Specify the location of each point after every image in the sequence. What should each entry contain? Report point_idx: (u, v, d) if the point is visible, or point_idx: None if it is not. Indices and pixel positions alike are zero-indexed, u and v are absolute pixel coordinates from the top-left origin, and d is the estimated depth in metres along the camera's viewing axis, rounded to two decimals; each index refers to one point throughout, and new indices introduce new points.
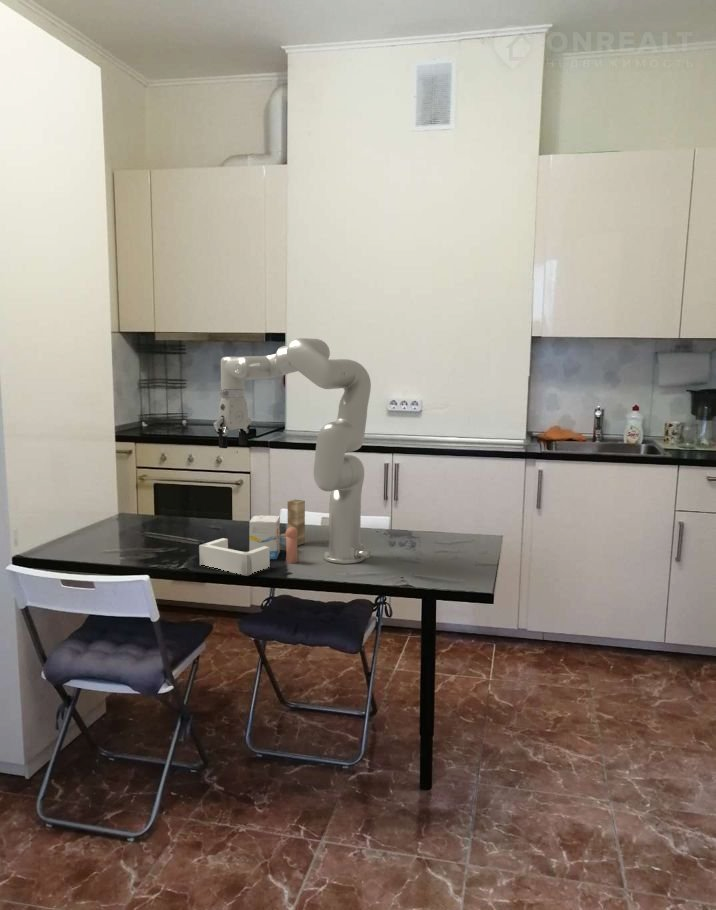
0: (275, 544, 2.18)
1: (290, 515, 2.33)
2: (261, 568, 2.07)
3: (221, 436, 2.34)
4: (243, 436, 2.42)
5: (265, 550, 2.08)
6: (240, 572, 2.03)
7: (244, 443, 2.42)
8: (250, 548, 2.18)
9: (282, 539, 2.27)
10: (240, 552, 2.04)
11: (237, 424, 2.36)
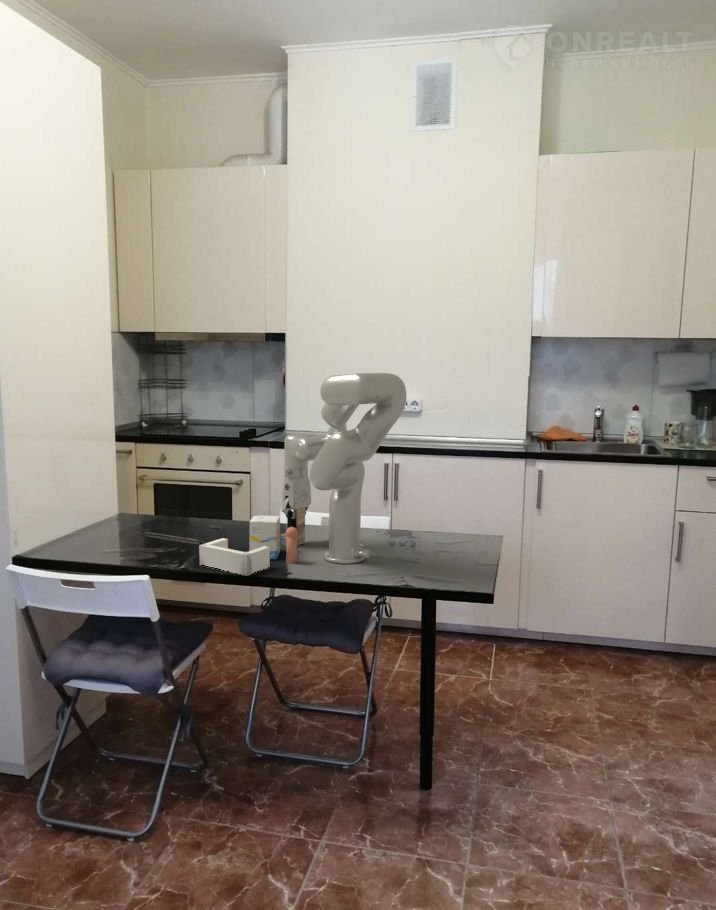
0: (275, 544, 2.18)
1: None
2: (261, 568, 2.07)
3: None
4: None
5: (265, 550, 2.08)
6: (240, 572, 2.03)
7: None
8: (250, 548, 2.18)
9: (282, 539, 2.27)
10: (240, 552, 2.04)
11: (301, 503, 2.32)
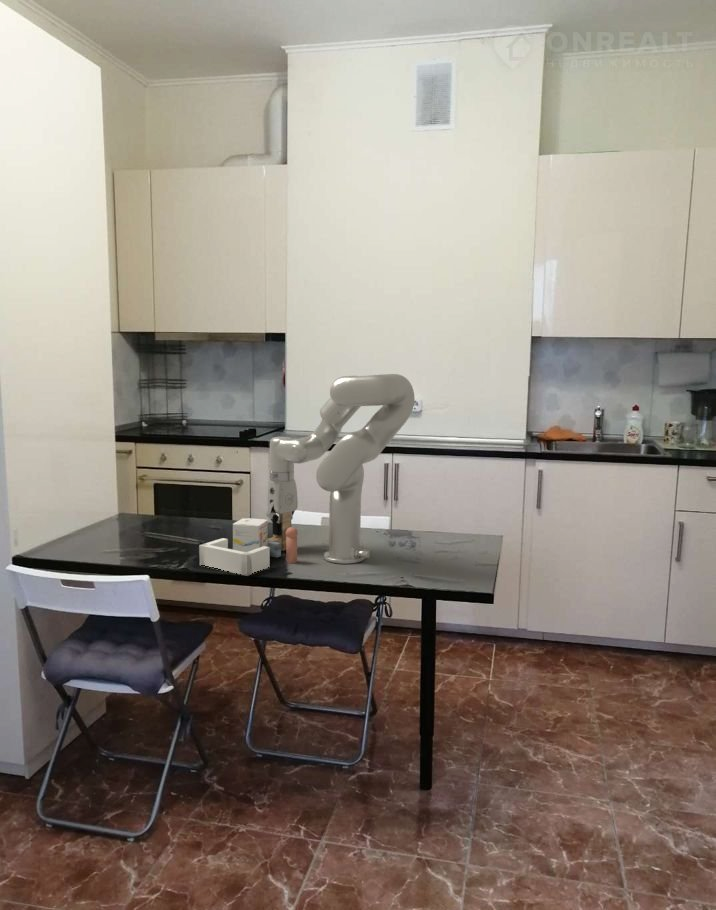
0: None
1: None
2: (261, 568, 2.07)
3: None
4: None
5: (265, 550, 2.08)
6: (240, 572, 2.03)
7: None
8: None
9: None
10: (240, 552, 2.04)
11: (287, 508, 2.25)
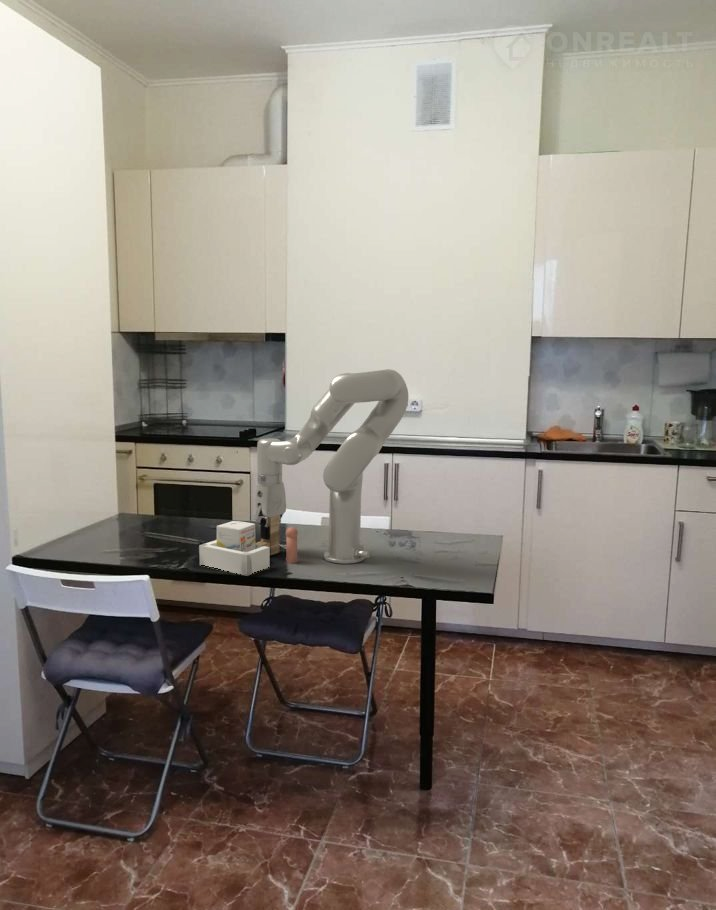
0: None
1: None
2: (261, 568, 2.07)
3: None
4: None
5: (265, 550, 2.08)
6: (240, 572, 2.03)
7: None
8: None
9: None
10: (240, 552, 2.04)
11: (275, 511, 2.20)
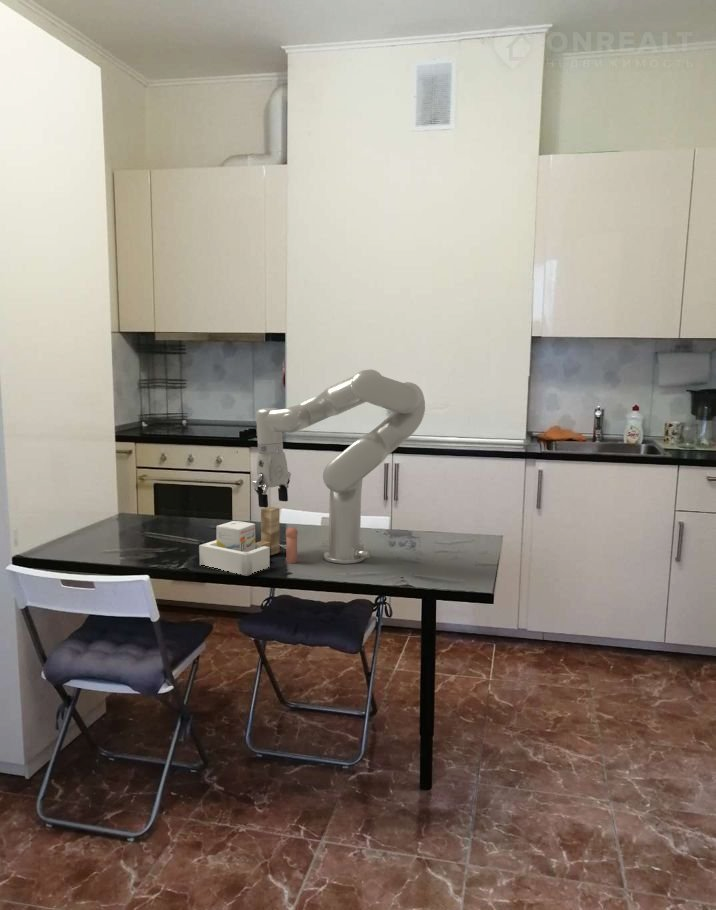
0: None
1: (264, 523, 2.22)
2: (261, 568, 2.07)
3: (261, 495, 2.17)
4: (283, 492, 2.25)
5: (265, 550, 2.08)
6: (240, 572, 2.03)
7: (285, 499, 2.26)
8: None
9: None
10: (240, 552, 2.04)
11: (277, 480, 2.19)
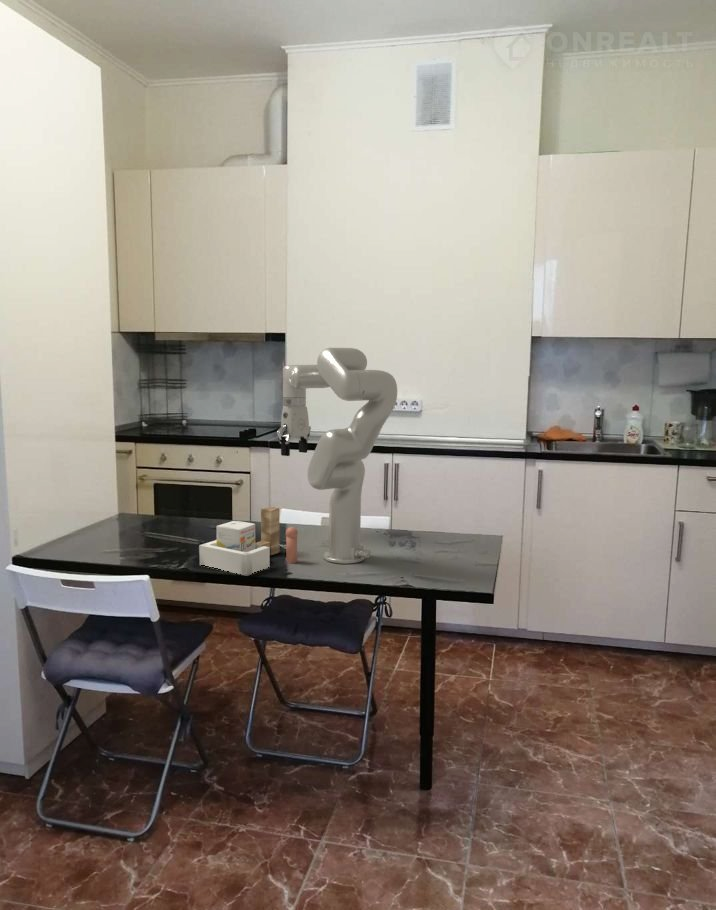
0: None
1: (264, 523, 2.22)
2: (261, 568, 2.07)
3: (284, 444, 2.35)
4: (303, 444, 2.44)
5: (265, 550, 2.08)
6: (240, 572, 2.03)
7: (304, 450, 2.44)
8: None
9: None
10: (240, 552, 2.04)
11: (299, 432, 2.38)
